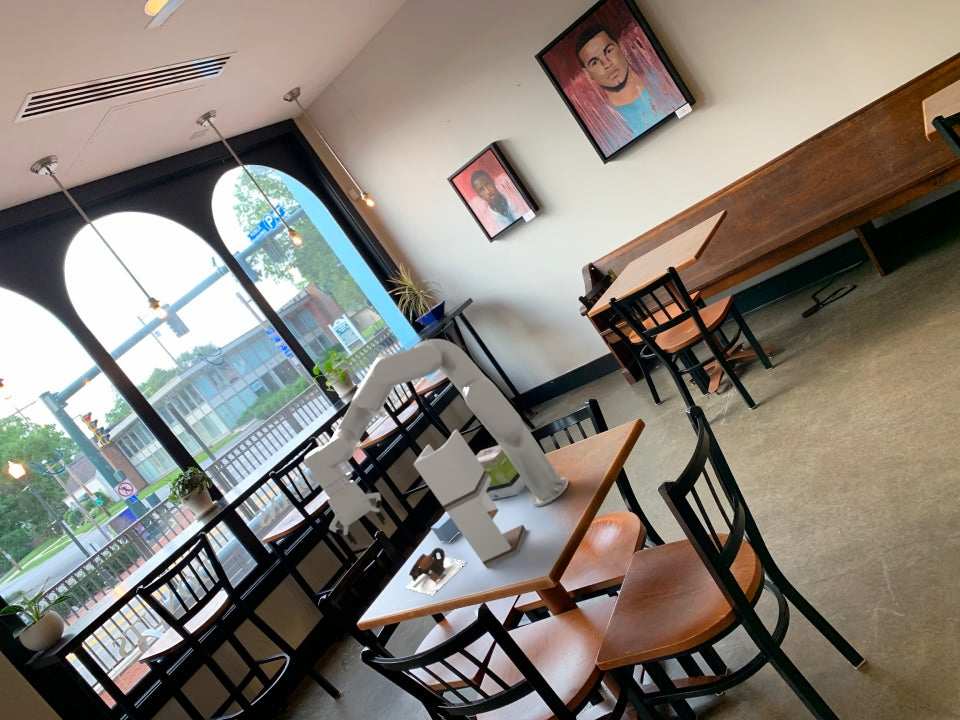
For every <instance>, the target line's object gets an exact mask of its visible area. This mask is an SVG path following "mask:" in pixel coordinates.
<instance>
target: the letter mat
mask: <svg viewBox="0 0 960 720" xmlns="http://www.w3.org/2000/svg"><path fill="white" fill-rule="evenodd" d="M449 558H450V557H445V559H444V568H445V569H446V570H445V571H444V572H443V573H442V574H441V575H440V577H439V578H438V580H437V581H436V582H434V581H433V580H431V579H430V576H431V574H432V571H431V570H430V571H429V574H428V575H426V574H422V575H421V576H419V577H418V578H417V579H416V582H415V581H414V580H413V579H412V581H411V582H409V584H408V585H406V586H405V589H407V590H410V589H411V590H412V591H414V592H418V593H421V594H423V593H424V595H426V594H427V595H428V594H430V593H432V592H430V590H431V591H433V590H435V589H437V588H438V589H437V590H438V591H440V589H441V588H442V587H444V584H447V583H448V582H449V581H450V580H451V579H452V578H453V577H454V576H455V575H456V574H457V573H459V571H461V569H462V568H463V567H464V566H465V565H466V564H464V565H463V564H461V563H462V562H463V561H464V562H465V560H460V559H455V558H450V559H451V560H452V559H453V560H455V562H454V561H453V560H452V561H453V562H454V563H456V564H457V565H456V564H454V563H452V564H454V565H453V566H452V564H451V563H450V562H451V560H450V559H449ZM449 560H450V561H449ZM456 560H457V561H458V562H457V561H456ZM460 561H462V562H460ZM459 562H460V563H459ZM464 562H463V563H464ZM460 564H461V565H460ZM458 565H460V566H458ZM462 565H463V567H462ZM453 567H454V568H455V569H454V568H453ZM459 567H461V568H460V569H458V568H459ZM451 568H452V569H451ZM457 569H458V570H457ZM456 570H457V571H456ZM411 590H410V591H411ZM437 590H436V591H437ZM427 591H428V592H427ZM436 591H434V592H433V593H432V594H431V595H428V596H430V597H433V596H434V595H435V594H436V593H437V592H438V591H437V592H436ZM426 592H427V593H426ZM425 593H426V594H425ZM427 595H426V596H427Z"/></svg>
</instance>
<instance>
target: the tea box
mask: <svg viewBox="0 0 960 720" xmlns="http://www.w3.org/2000/svg"><path fill="white" fill-rule="evenodd" d="M475 456H476V458H477V459H478V460H479V462H480V463H481V465H482V466H483V468H484V469H485V471H486V472H487V474H488V475H489V476H490V478H491V479H492V480H491V482H490V484H489V486H488V488H487V490H486V492H487V494H488V495H489V497H490V498H491V499H492V501H494V500H496V499H502V498H503V499H504V498H507V497H512V496H518V495H520V493H521V492H522V490H523V489H524V488H525V487H526V486H527V485H526V484H525V482H524V481H523V479H522V478H521V476H520V475H519V473H518V472H517V470H516V469H515V467H514V466H513V464H512V463H511V462H510V460H509V458H508V457H507V455H506V454H505V452H504V451H503V450H502V448H501V447H500V445H499V444H498V445H495V446H492V447H488V448H485V449H482V450H480V451H479V452H478V453H477V454H476V455H475Z"/></svg>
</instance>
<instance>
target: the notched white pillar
mask: <svg viewBox="0 0 960 720" xmlns="http://www.w3.org/2000/svg"><path fill="white" fill-rule="evenodd" d="M413 466H414V468H415V469H416V470H417V472H418V473H419V475H420V476H421V477H422V479H423V481H425V483H426V485H427V486H428V487H429V488H430V490H431V492H432V493H433V495H434V496H435V497H436V499H437V501H439V503H440V504H441V506H442V507H443V509H444V510H445V512H447V515H448V516H450V517H451V519H452V520H453V521H454V523H455V524H456V526H457V527H458V529H459V530H460V531H461V532H460V534H462V536H463V537H464V539H465V540H466V542H467V543H468V544H469V546H471V549H472V550H473V552H475V554H476V556H477V557H478V558H479V559H480V561H481V562H482V564H483V565H484V567H485V568H486V567H487V568H489V566H490V567H492V566H494V565H496V564H498V562H499V563H501V562H502V561H505V560H507V559H509V558H511V557H515V556H517V555H518V554H520V551H521V548H522V544H523V542H524V539H525V536H526V533H527V528H526V527H525V526H524V525H523V524H521V525H519V526H517V527H515V528H512V529H510V530H508V531H506V532H504V533H502V531H501V530H500V529H499V527H498V526H497V525H496V522H494V518H495V517H496V516H497V514H498V512H499V508H498V507H497V505H496V504H495V502H494V500H492V499H491V498H490V497H489V495H488V494H487V492H486V490H487V488H488V486H489V484H490V482H491V480H492V479H491V478H490V476H489V475H488V474H487V472H486V471H485V469H484V468H483V466H482V465H481V463H480V462H479V460H478V459H477V458H476V455H475V453H474V452H473V450H472V449H471V448H470V446H469V445H468V443H467V442H466V440H465V439H464V437H463V436H462V435H461V432H459V430H458V429H455V430H453V432H452V433H451V435H450V436H449V438H447V441H445V443H443V444H442V445H441V446H440V447H439V448H438V449H433V447H432V446H431V445H430V443H429V444H428V445H426V446H425V448H424V449H423V450H422V452H421V453H420V454H419V456H418V457H417V458H416V460H415V461H414V463H413ZM500 561H501V562H500ZM495 563H496V564H495ZM493 564H494V565H493ZM491 565H492V566H491Z"/></svg>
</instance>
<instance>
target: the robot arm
mask: <svg viewBox="0 0 960 720" xmlns="http://www.w3.org/2000/svg"><path fill="white" fill-rule="evenodd" d="M438 370H440V372H442V373H443V374H444V375H445V376H446V377H447V379H448V380H449V381H450V382H451V383H452V384H453V385H454V387H455V388H456V389H457V390H458V392H459V393H460V394H461V396H462V397H463V400H464V402H465V403H466V406H467V407H468V408H469V410H470V411H471V412H472V413H473V414H474V415H475V416H476V418H477V419H478V420H479V421H480V423H481V424H482V425H483V426H484V427H485V429H486V430H487V431H488V432H489V434H490V435H491V436H492V437H493V438H494V440H495V442H497V444H498V445H500V447H501V448H502V450H503V451H504V452H505V454H506V455H507V457H508V458H509V460H510V462H511V463H512V464H513V466H514V467H515V469H516V470H517V472H518V473H519V475H520V476H521V478H522V479H523V481H524V482H525V484H526V486H527V488H528V489H529V491H530V492H531V494H532V498H531V503H532V505H533V506H534V507H541V506H542V507H543V506H545V505H548V504H550V503H551V502H553V501H554V500H553V499H554V498H556V497H557V496H558V495H559V494H560V493H561V492H562V491H563V490H564V488H565V486H566V484H567V482H568V481H569V479H568V478H567V477H565V476H561V477H560V475H559V474H558V472H557V470H556V469H555V467H554V466H553V465H552V463H551V461H550V460H549V459H548V457H547V456H546V454H545V453H544V452H543V450H542V448H541V447H540V445H539V444H538V443H537V442H538V441H536V439H535V438H534V436H533V435H532V433H531V432H530V430H529V429H528V427H527V426H526V424H525V423H524V422H523V420H522V417H521V415H520V414H519V413H518V412H517V411H516V409H515V408H514V407H513V406H512V404H511V403H510V402H509V401H508V399H507V398H506V397H505V396H504V395H503V393H502V392H501V391H500V390H499V388H498V387H497V386H496V384H494V382H492V381H491V380H490V379H489V378H488V377H487V376H486V375H485V374H484V373H483V372H482V371H481V369H480V368H479V367H478V366H477V365H476V363H474V361H473V360H472V359H471V358H470V357H469V356H468V354H467V353H466V352H465V351H463V349H462V348H461V347H459V346H458V345H456V344H455V343H453V342H451V341H449V340H446V339H440V338H431V339H426V340H422V341H420V342H418V343H417V344H416V345H415V346H413V348H410V349H407V350H404V351H402V352H397V353H394V354H391V353H384V354H383V353H382V354H380V355H379V356H377V358H376V359H375V360H374V361H373V363H372V365H371V367H370V368H369V370H368V372H367V373H366V375H365V376H364V379H363V380H362V382H361V384H360V385H359V387H358V389H357V390H356V392H355V394H354V396H353V397H352V399H351V402H350V405H349V407H348V409H347V411H346V413H345V414H344V415H343V418H342V420H341V421H340V422H339V424H338V427H337V428H336V429H335V432H334V433H333V435H332V436H331V438H330V440H329V442H327V443H326V444H325V445H323V444H322V445H319V446H317V447H315V448H314V449H312V450H310V451H309V452H308V453H307V454H306V455H304V459H303V461H304V463H305V465H306V467H307V468H308V470H309V471H310V473H311V474H312V476H313V477H314V478H315V479H316V481H317V483H318V484H319V486H320V487H321V489H322V490H323V492H324V493H325V494H326V496H327V497H326V501H327V502H328V505H329V506H330V508H331V510H332V512H333V513H334V518H333V519H332V521H331V523H330V524H329V527H328V529H329V531H332V532H333V533H336V534H338V535H344V536H346V538H347V539H348V540H349V542H350V543H351V544H354V546H357V544H358V541H357V539H356V538H355V536H354V535H353V534H352V532H351V531H350V530H349V526H350V525H352V524H353V523H355V522H356V521H357V520H359V519H360V518H362V517H363V516H365V515H366V514H368V513H369V511H371V512H375V515H376V517H377V518H378V520H379V521H380V522H381V524H382V525H386V522H385V521H386V517H385V516H384V514H383V513H382V512H381V507H382V497H381V493H380V492H373V493H365V492H364V491H363V490H362V488H361V487H360V486H359V484H357V483H356V482H355V481H354V480H353V479H351V478H352V477H353V474H352V473H351V471H350V472H347V473H346V472H344V470H343V469H342V467H341V465H340V464H343V463H345V462H347V461H349V460H350V459H351V458H352V457H353V456H354V454H355V450H356V448H357V445H358V443H359V442H360V439H361V438H362V437H363V435H364V432H365V431H366V430H367V428H368V427H369V425H370V423H371V422H372V421H373V419H375V417H377V416H378V414H379V413H380V412H381V410H382V409H383V407H384V405H385V404H386V402H387V400H388V398H389V396H390V395H391V393H392V391H393V389H394V388H395V386H398V385H402V384H406V383H409V382H412V381H414V380H418V379H421V378H424V377H428V376H430V375H432V374H435V373H436V372H437V371H438ZM567 479H568V480H567ZM372 499H376V503H375V504H374V505H373V504H372V502H371V500H372ZM556 499H557V498H556ZM552 500H553V501H552ZM549 502H550V503H549ZM547 503H548V504H547ZM338 522H339V523H340V524H341V525H342V527H343V528H339V527H336V525H337V523H338Z"/></svg>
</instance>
